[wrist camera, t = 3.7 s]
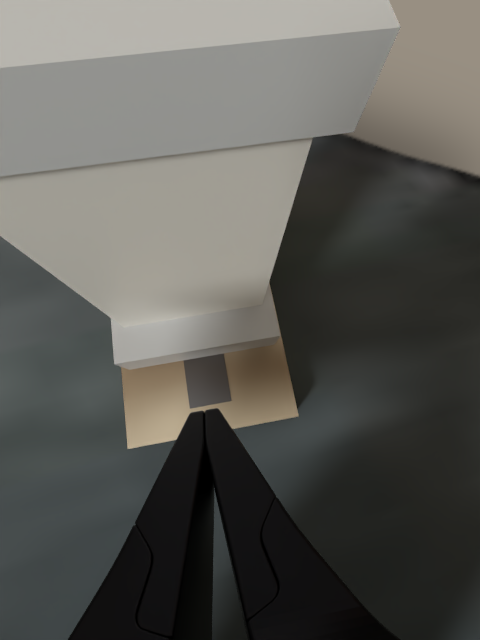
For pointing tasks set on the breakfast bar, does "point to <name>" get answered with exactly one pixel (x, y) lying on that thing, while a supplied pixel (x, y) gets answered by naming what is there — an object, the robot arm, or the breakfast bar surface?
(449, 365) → the breakfast bar surface
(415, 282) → the breakfast bar surface
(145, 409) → the fader console
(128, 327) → the fader tab
